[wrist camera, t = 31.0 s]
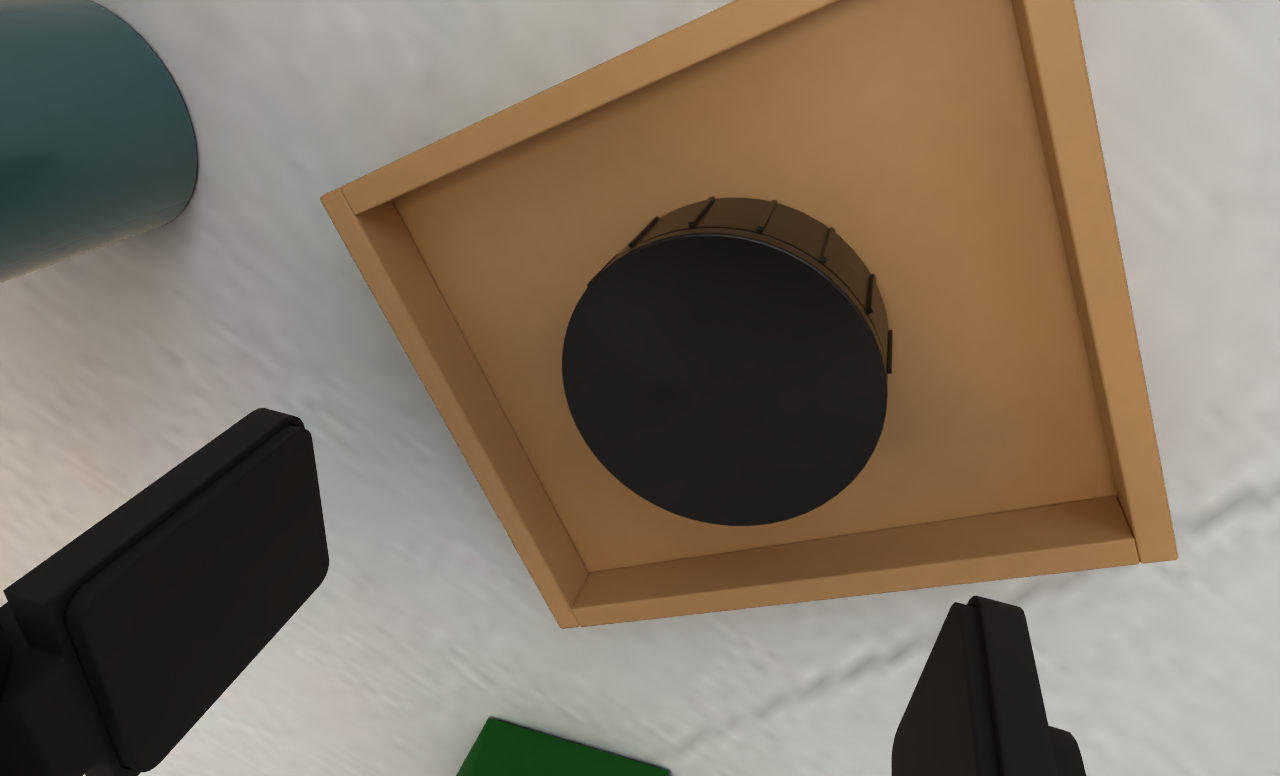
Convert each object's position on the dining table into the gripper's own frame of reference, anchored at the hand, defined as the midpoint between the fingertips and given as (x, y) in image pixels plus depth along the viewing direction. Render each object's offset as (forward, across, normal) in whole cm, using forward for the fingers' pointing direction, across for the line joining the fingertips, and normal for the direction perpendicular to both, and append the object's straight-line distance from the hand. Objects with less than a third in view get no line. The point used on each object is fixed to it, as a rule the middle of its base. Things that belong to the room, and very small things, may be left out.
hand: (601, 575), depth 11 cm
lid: (+6, 0, 0) cm, 6 cm away
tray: (+9, -1, 0) cm, 9 cm away
